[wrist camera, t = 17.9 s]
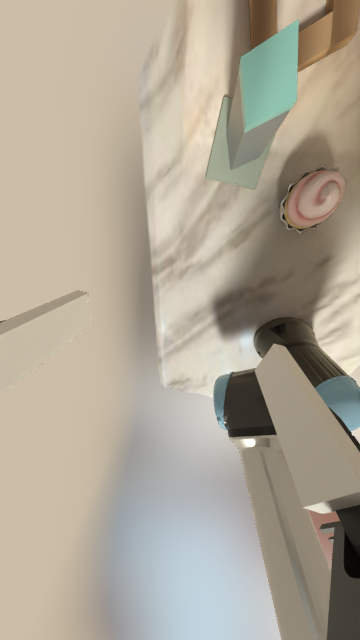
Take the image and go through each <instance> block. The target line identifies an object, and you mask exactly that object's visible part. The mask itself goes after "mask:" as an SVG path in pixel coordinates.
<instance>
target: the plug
mask: <svg viewBox="0 0 360 640" xmlns="http://www.w3.org/2000/svg"><path fill="white" fill-rule="evenodd" d="M298 28H299V19H298V20H296V21H295V22H293V23H292V24H290V25H289V26H287V27H286V28H284V29H283V30H281V31H280V32H278V33H277V34H275V35H274V36H272V37H270V38H269V39H267V40H266V41H264V42H263V43H261V44H260V45H258V46H257V47H255V48H254V49H252V50H251V51H249V52H248V53H246V54H245V55H243V56H242V57H241V59H240V64H239V69H238V75H237V80H236V85H235V91H234V96H233V101H232V107H231V112H230V117H229V123H228V128H227V133H226V136H227V145H228V153H229V161H230V170H233V169H235V168H238V167H240V166H242V165H244V164H246V163H248V162H251V161H253V160H255V159H257V158H259V157H260V155H261V154H262V152H263V151H264V149H265V148H266V146H267V145H268V143H269V142H270V140H271V139H272V137H273V136H274V134H275V133H276V131H277V130H278V128H279V127H280V125H281V124H282V122H283V121H284V119H285V117H286V116H287V114H288V113H289V111H290V110H291V108H292V107H293V105H294V104H295V102H296V101H297V68H298Z"/></svg>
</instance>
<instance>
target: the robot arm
mask: <svg viewBox="0 0 360 640" xmlns="http://www.w3.org/2000/svg"><path fill="white" fill-rule="evenodd" d="M90 326H92V321H91V312H90V304H89V295H88V293H86V292H83V291H79V290H78V291H75V292H72V293H70V294H68V295H65V296H63V297H60V298H58V299H56V300H53V301H51V302H49V303H46V304H44V305H42V306H39V307H37V308H34V309H32V310H29V311H27V312H25V313H22V314H20V315H17V316H15V317H13V318H10V319H8V320H4V321H1V322H0V396H1V395H3V394H4V393H5V392H6V391H8V390H9V389H10V388H12V387H13V386H14V385H16V384H17V383H18V382H19V381H21V380H22V379H23V378H25V377H26V376H27V375H28V374H30V373H31V372H32V371H33V370H35V369H36V368H38V367H39V366H40V365H41V364H43V363H44V362H45V361H47V360H48V359H49V358H50V357H52V356H53V355H54V354H56V353H57V352H58V351H59V350H61V349H62V348H63V347H64V346H66V345H67V344H69V343H70V342H71V341H72V340H74V339H75V338H76V337H78V336H79V335H80V334H82V333H83V332H84V331H85V330H87V329H88V328H89V327H90ZM254 346H255V349H256V351H257V353H258V354H259V356H260V357H261V358H262V361H261V362H260V364H259V365H258V366H257V368H253V369H249V370H244V371H239V372H231V373H230V374H226V375H222V376H220V377H218V378H217V380H216V382H215V385H214V407H215V413H216V416H217V421H218V424H219V425H220V427H221V428H223V429H225V430H228V435H229V439H230V440H231V441H232V442H233V443H234V444H235V445H236V446H237V448H238V449H239V452H240V456H241V460H242V465H243V470H244V474H245V479H246V483H247V487H248V492H249V496H250V501H251V505H252V510H253V514H254V519H255V523H256V528H257V532H258V536H259V541H260V546H261V550H262V555H263V559H264V564H265V568H266V572H267V577H268V581H269V586H270V590H271V595H272V599H273V603H274V608H275V613H276V617H277V622H278V626H279V630H280V635H281V640H360V444H359V442H358V441H357V440H356V438H355V437H354V436H352V434H351V431H353V430H355V429H357V428H359V427H360V387H359V386H358V385H357V383H356V381H355V380H354V379H353V378H351V377H350V376H349V375H348V374H346V373H345V372H344V371H343V370H342V369H341V368H340V367H339V366H338V365H337V364H336V363H335V362H334V361H333V360H332V359H331V358H330V357H329V356H328V355H327V354H326V353H325V352H324V351H323V350H322V349H321V348H320V347H319V345H318V343H317V340H316V338H315V334H314V332H313V330H312V329H311V328H310V327H309V326H308V325H307V324H306V323H304V322H303V321H301V320H299V319H295V318H280V319H276V320H273V321H270V322H268V323H266V324H265V325H264V326H262V327H261V328H260V329H259V330H258V331H257V333H256V335H255V337H254ZM308 509H309V510H312V511H315V512H318V513H322V514H324V513H329V512H333V511H336V513H337V515H338V517H339V519H340V521H338V522H332V523H327V524H322V525H321V527H320V531H321V532H322V533H331V532H334V536H333V537H330V538H329V539H328V540H329V541H330V542H331V543H332V544H333V556H332V571H331V570H330V568H329V565H328V562H327V559H326V557H325V554H324V551H323V548H322V546H321V543H320V540H319V538H318V535H317V532H316V530H315V527H314V525H313V522H312V519H311V517H310V514H309V511H308Z"/></svg>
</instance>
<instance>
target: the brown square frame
mask: <svg viewBox="0 0 360 640" xmlns="http://www.w3.org/2000/svg"><path fill="white" fill-rule="evenodd" d="M359 6H360V0H327V6H326V16H324V17H323V18H321V19H320V20H318V21H316V22H315V23H313V24H312V25H310V26H308V27H307V28H305V29H304V30H302V31H301V32H299V33H298V68H297V72H299V71H301V70H303V69H305V68H306V67H308V66H310V65H312V64H313V63H315V62H317V61H319V60H320V59H322V58H324V57H326V56H327V55H329V54H331V53H333V52H335V51H336V50H338V49H340V48H342V47H343V46H345V45H347V44H348V42H349V41H350V40H351V38H352V37H353V36H354V34H355V33H356V30H357V22H358V14H359ZM249 10H250V28H251V46H252V49H254V48H255V47H257V46H258V45H260V44H261V43H263V42H264V41H266V40H267V39H269V38H270V37H272V36H274V35H275V34H277V0H249Z"/></svg>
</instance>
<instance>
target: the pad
mask: <svg viewBox="0 0 360 640" xmlns="http://www.w3.org/2000/svg"><path fill="white" fill-rule="evenodd" d="M232 101H233V98H229V97H224V99H223V103H222V108H221V112H220V117H219V121H218V125H217V130H216V134H215V139H214V143H213V147H212V152H211V156H210V161H209V165H208V170H207V174H206V178H208V179H212V180H216V181H220V182H225V183H229V184H233V185H237V186H241V187H245V188H249V189H253V190H255V188H256V185H257V182H258V179H259V177H260V174H261V171H262V168H263V166H264V163H265V160H266V158H267V155H268V152H269V149H270V147H271V144H272V141H273V138H274V136H275V134H274V136H273V137H272V139H271V140H270V142H269V143H268V145H267V146H266V148H265V149H264V151H263V152H262V154H261V155H260V157H259V158H257V159H255V160H253V161H251V162H248V163H246V164H244V165H242V166H240V167H238V168H235V169H233V170H230V161H229V153H228V145H227V136H226V133H227V128H228V123H229V117H230V112H231V107H232Z"/></svg>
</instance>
